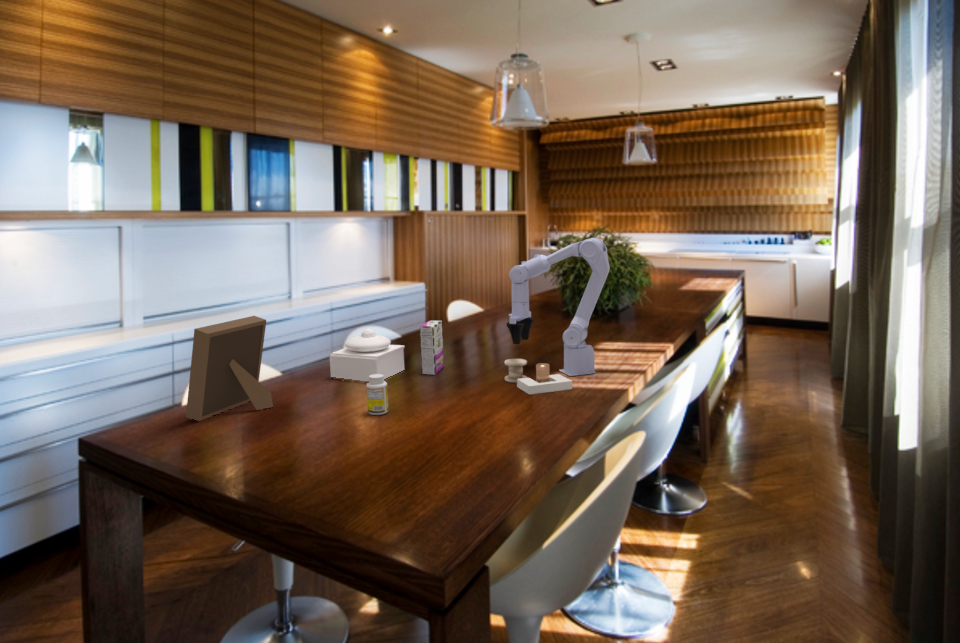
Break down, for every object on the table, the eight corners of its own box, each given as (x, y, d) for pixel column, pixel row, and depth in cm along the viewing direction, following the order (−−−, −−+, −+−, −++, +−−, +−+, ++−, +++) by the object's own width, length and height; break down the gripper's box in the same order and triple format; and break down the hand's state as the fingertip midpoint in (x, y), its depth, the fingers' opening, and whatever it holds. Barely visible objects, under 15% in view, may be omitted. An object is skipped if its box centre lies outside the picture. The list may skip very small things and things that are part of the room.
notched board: (558, 381, 202) (558, 374, 201) (572, 389, 193) (572, 380, 193) (517, 386, 197) (517, 378, 196) (529, 394, 189) (529, 386, 188)
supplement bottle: (379, 408, 179) (377, 372, 177) (392, 411, 175) (391, 375, 173) (363, 413, 175) (361, 376, 173) (377, 417, 171) (375, 379, 169)
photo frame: (186, 420, 171) (177, 327, 167) (244, 398, 191) (238, 314, 187) (229, 427, 166) (222, 331, 161) (285, 403, 186) (280, 317, 181)
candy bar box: (430, 366, 225) (428, 320, 222) (444, 367, 224) (442, 320, 221) (421, 375, 214) (419, 326, 211) (435, 375, 213) (434, 326, 210)
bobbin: (521, 375, 210) (521, 357, 209) (530, 381, 203) (530, 362, 202) (501, 378, 207) (501, 359, 206) (509, 383, 201) (509, 364, 200)
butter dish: (331, 379, 211) (327, 331, 208) (362, 367, 227) (359, 322, 225) (377, 384, 204) (374, 334, 202) (405, 371, 220) (403, 324, 218)
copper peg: (545, 384, 199) (545, 362, 197) (551, 388, 195) (551, 365, 194) (534, 386, 197) (533, 363, 196) (539, 389, 193) (539, 366, 192)
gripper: (517, 298, 223) (517, 336, 225) (500, 303, 210) (501, 345, 212) (536, 298, 220) (536, 338, 222) (520, 304, 207) (521, 346, 209)
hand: (520, 341), depth 217 cm, fingers open, 7 cm apart
